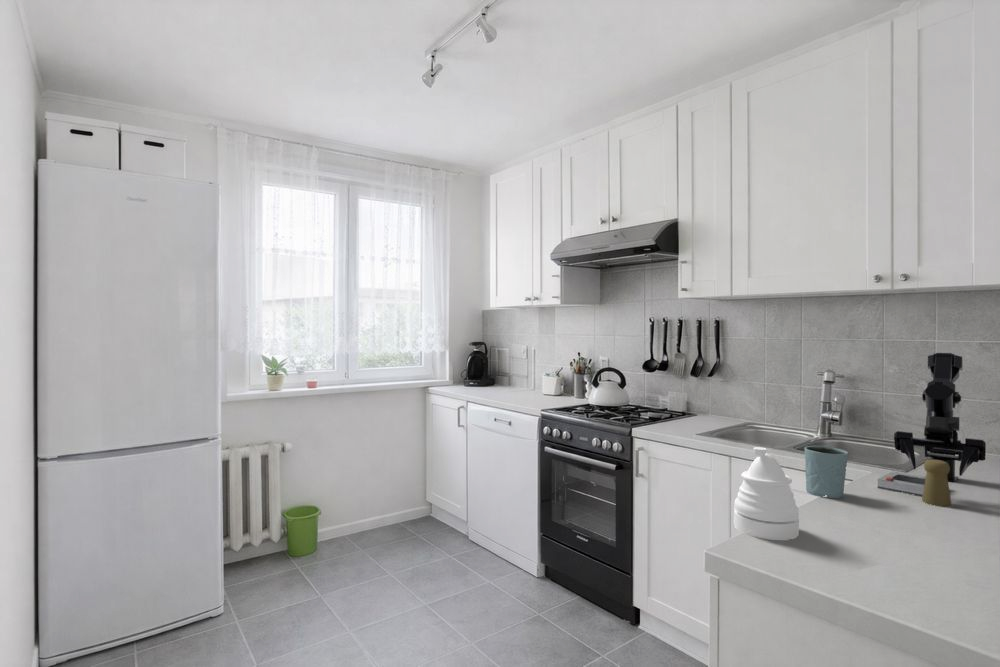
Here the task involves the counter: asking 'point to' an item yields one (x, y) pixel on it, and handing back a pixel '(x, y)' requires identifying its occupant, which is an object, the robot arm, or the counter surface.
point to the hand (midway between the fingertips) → (936, 471)
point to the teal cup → (825, 471)
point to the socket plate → (902, 483)
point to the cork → (936, 483)
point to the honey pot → (766, 501)
